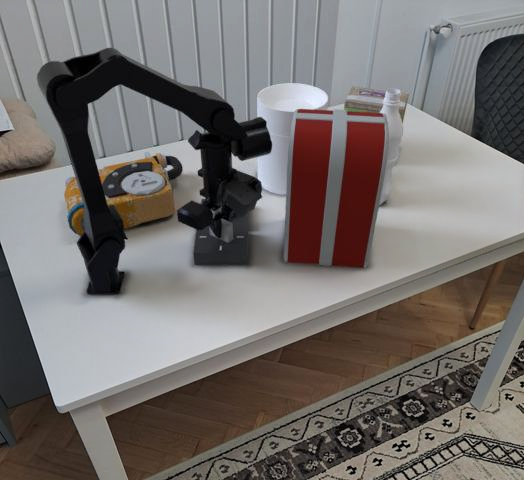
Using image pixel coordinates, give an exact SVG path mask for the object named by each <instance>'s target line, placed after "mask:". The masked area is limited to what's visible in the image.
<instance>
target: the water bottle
mask: <svg viewBox="0 0 524 480" xmlns="http://www.w3.org/2000/svg"><path fill="white" fill-rule="evenodd" d="M385 91H386V94H385V98H384V100H383V104H384V105H383V108H382V109H381V111H380V113H382V114H383V113H384V114H385V115H386V117H387V121H388V127H389V148H388V158H387V165H386V171H385V177H384V183H383V188H382V193H381V198H380V204H379V206H380V205H381V206H382V204H383V203H386V202H387V201H388V200H389V199H390V196H391V194H392V190H393V187H392V173H393V168H394V166H395V164H396V163H397V161H398V159H399V156H400V149H401V143H402V139H403V135H404V125H403V124H404V123H403V124H402V120H401V117H400V114H399V105H400V95H401V93H402V92H401V90H400V89H398V88H392V87H391V88H387V89H386V90H385Z"/></svg>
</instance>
